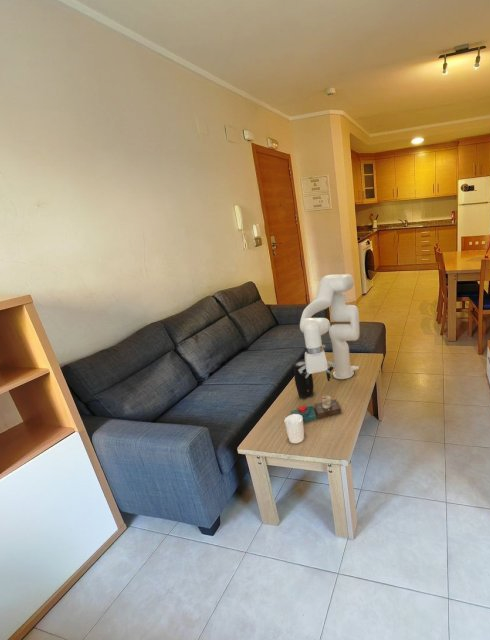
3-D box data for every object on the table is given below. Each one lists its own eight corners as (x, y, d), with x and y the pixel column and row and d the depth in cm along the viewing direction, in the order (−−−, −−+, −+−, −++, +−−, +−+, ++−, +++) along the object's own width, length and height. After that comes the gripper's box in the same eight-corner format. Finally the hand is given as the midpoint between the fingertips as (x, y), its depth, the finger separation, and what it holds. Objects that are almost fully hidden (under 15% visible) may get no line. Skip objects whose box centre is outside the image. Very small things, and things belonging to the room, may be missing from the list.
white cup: (290, 446, 145) (286, 426, 141) (285, 436, 152) (282, 417, 148) (308, 440, 147) (304, 421, 144) (302, 430, 154) (299, 411, 151)
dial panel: (336, 404, 173) (335, 398, 172) (340, 413, 164) (340, 407, 163) (315, 409, 170) (314, 403, 169) (318, 418, 162) (317, 413, 161)
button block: (313, 409, 170) (312, 402, 169) (316, 419, 162) (315, 412, 160) (291, 414, 167) (290, 407, 166) (293, 425, 159) (292, 417, 158)
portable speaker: (314, 398, 180) (309, 364, 174) (297, 400, 180) (291, 367, 174) (314, 389, 188) (310, 357, 182) (297, 392, 188) (292, 360, 182)
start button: (305, 407, 165) (305, 404, 165) (307, 411, 162) (306, 408, 162) (298, 409, 165) (298, 406, 164) (299, 413, 161) (299, 410, 161)
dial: (330, 402, 169) (329, 394, 167) (332, 407, 165) (331, 398, 163) (321, 404, 168) (320, 396, 166) (323, 409, 164) (322, 400, 162)
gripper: (330, 343, 162) (334, 375, 167) (294, 349, 158) (299, 382, 164) (334, 348, 155) (338, 382, 160) (296, 355, 151) (301, 389, 157)
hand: (318, 382), depth 162 cm, fingers open, 9 cm apart
